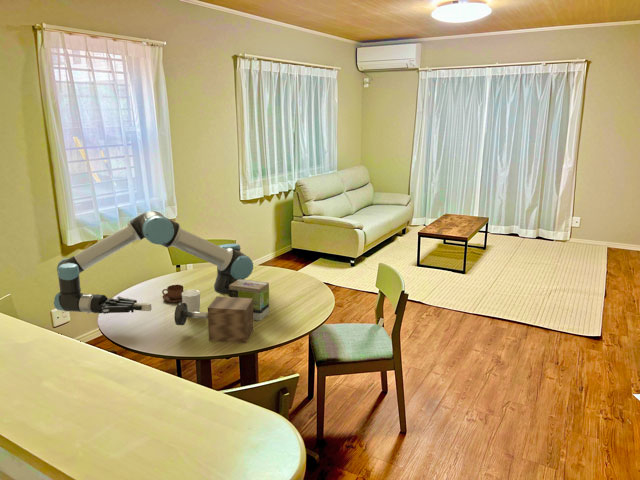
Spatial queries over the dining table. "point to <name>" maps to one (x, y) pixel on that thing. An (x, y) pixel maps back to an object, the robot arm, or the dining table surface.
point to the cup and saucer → (173, 293)
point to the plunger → (186, 314)
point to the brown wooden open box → (230, 319)
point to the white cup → (192, 300)
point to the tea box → (252, 295)
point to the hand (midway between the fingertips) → (150, 307)
